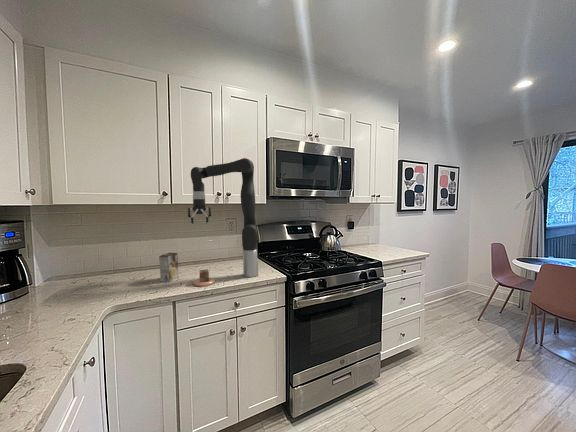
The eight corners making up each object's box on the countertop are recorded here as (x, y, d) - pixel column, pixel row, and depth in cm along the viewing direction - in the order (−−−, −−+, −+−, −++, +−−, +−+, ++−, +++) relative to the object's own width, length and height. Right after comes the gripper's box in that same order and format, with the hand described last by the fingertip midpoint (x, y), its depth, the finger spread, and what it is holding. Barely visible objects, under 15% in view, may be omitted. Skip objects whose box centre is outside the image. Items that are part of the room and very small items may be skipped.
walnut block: (208, 278, 156) (208, 269, 155) (208, 281, 151) (208, 271, 150) (199, 279, 154) (199, 270, 153) (200, 282, 149) (199, 272, 149)
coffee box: (170, 276, 165) (168, 252, 163) (178, 277, 163) (177, 252, 162) (160, 281, 156) (159, 255, 154) (169, 282, 154) (168, 256, 153)
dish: (213, 278, 160) (213, 276, 160) (215, 285, 149) (215, 282, 149) (193, 281, 156) (193, 278, 156) (193, 287, 145) (193, 285, 145)
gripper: (210, 198, 172) (210, 222, 173) (187, 198, 167) (188, 223, 168) (210, 198, 165) (211, 223, 166) (187, 198, 160) (188, 224, 161)
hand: (199, 223), depth 167 cm, fingers open, 8 cm apart
